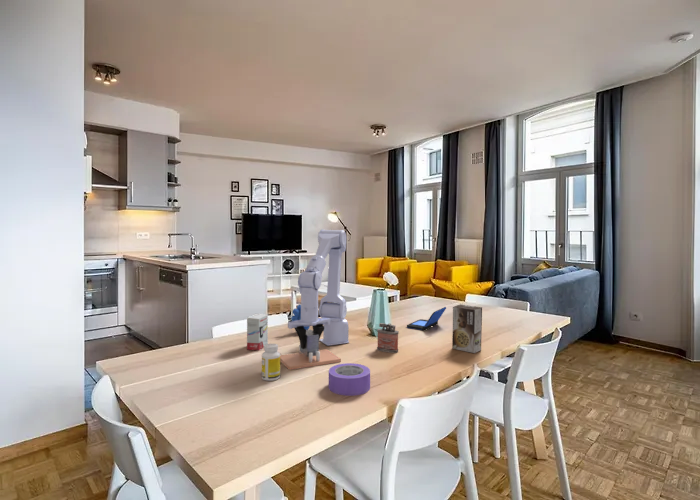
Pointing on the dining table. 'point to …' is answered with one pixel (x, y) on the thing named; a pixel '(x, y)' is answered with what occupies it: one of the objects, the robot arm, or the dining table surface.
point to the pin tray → (308, 359)
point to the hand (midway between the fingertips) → (309, 347)
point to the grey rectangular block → (310, 343)
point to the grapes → (298, 315)
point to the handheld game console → (427, 321)
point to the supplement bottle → (270, 362)
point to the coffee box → (467, 328)
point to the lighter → (387, 338)
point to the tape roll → (349, 379)
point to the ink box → (257, 331)
